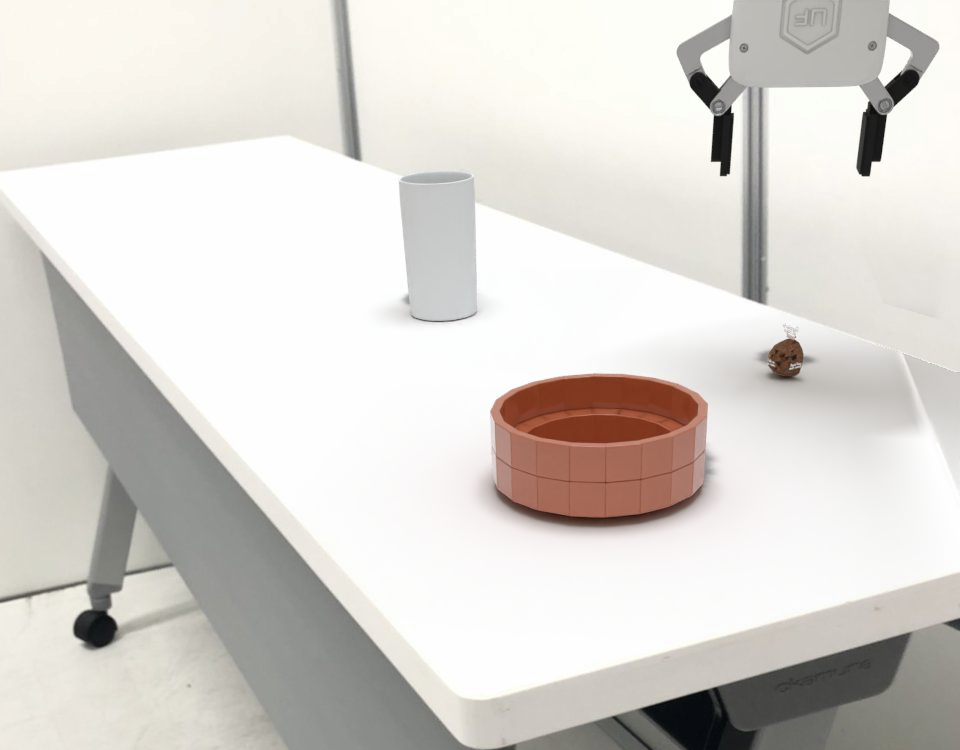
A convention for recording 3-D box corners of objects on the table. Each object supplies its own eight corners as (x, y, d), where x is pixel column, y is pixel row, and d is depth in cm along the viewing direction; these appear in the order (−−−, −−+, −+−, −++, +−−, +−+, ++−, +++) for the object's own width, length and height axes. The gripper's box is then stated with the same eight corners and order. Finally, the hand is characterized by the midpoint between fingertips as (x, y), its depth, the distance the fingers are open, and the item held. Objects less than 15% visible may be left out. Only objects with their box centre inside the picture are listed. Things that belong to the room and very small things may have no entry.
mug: (467, 323, 110) (461, 184, 104) (397, 321, 111) (387, 183, 105) (497, 295, 118) (493, 164, 112) (432, 293, 120) (424, 164, 114)
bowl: (705, 447, 81) (709, 374, 79) (701, 530, 70) (705, 449, 68) (511, 442, 84) (509, 371, 81) (477, 522, 72) (473, 443, 70)
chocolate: (757, 373, 94) (760, 322, 92) (780, 368, 95) (784, 318, 93) (780, 384, 92) (785, 331, 90) (804, 379, 93) (809, 327, 91)
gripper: (681, -104, 76) (668, 183, 85) (971, -115, 73) (926, 183, 82) (686, -103, 82) (673, 164, 91) (952, -113, 79) (912, 163, 88)
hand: (793, 173), depth 86 cm, fingers open, 9 cm apart
